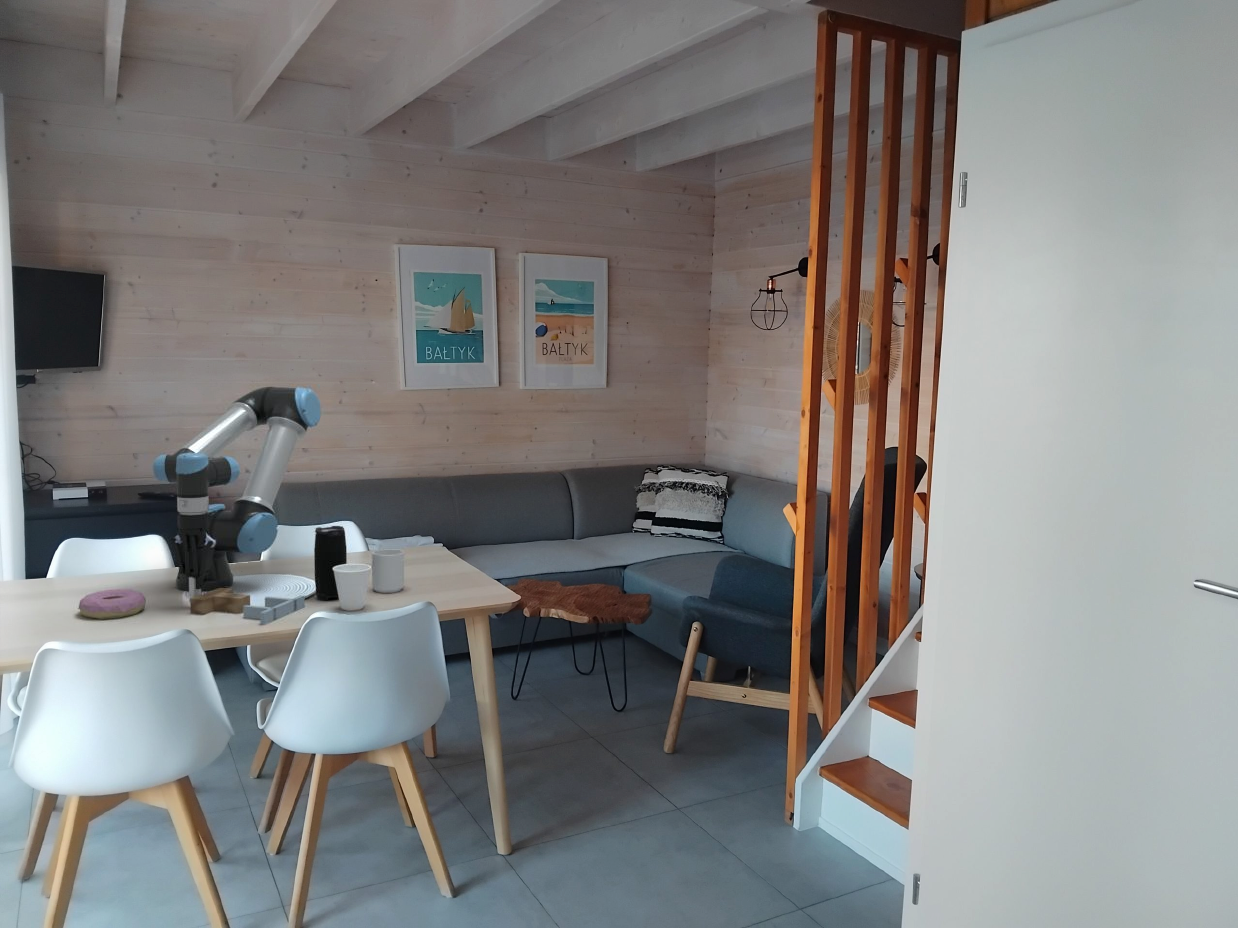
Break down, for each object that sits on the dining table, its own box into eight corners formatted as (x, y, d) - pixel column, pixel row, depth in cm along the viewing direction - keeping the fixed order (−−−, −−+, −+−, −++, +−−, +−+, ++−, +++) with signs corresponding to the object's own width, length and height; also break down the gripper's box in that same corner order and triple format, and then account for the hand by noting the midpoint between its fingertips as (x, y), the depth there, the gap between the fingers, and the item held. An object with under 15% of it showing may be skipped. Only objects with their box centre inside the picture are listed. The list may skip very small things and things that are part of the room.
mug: (405, 592, 273) (405, 554, 272) (373, 594, 270) (373, 555, 269) (401, 583, 284) (401, 546, 283) (370, 584, 281) (370, 547, 280)
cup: (375, 603, 261) (374, 563, 259) (366, 613, 251) (366, 571, 250) (338, 602, 260) (338, 563, 259) (328, 612, 250) (328, 571, 249)
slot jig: (234, 621, 240) (233, 609, 240) (276, 603, 258) (275, 593, 257) (264, 624, 238) (264, 612, 238) (304, 606, 256) (304, 595, 255)
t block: (190, 613, 247) (190, 598, 246) (220, 602, 258) (219, 587, 258) (231, 617, 244) (230, 602, 243) (259, 606, 255) (259, 591, 255)
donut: (71, 612, 246) (70, 593, 246) (134, 602, 257) (134, 584, 256) (90, 625, 235) (89, 605, 235) (155, 614, 246) (154, 595, 245)
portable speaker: (339, 591, 272) (339, 524, 270) (352, 598, 265) (351, 529, 263) (309, 595, 267) (309, 526, 265) (321, 603, 260) (321, 532, 257)
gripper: (161, 512, 248) (164, 601, 251) (205, 516, 245) (207, 606, 247) (181, 508, 255) (183, 595, 258) (224, 511, 252) (225, 599, 255)
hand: (195, 600), depth 253 cm, fingers closed
